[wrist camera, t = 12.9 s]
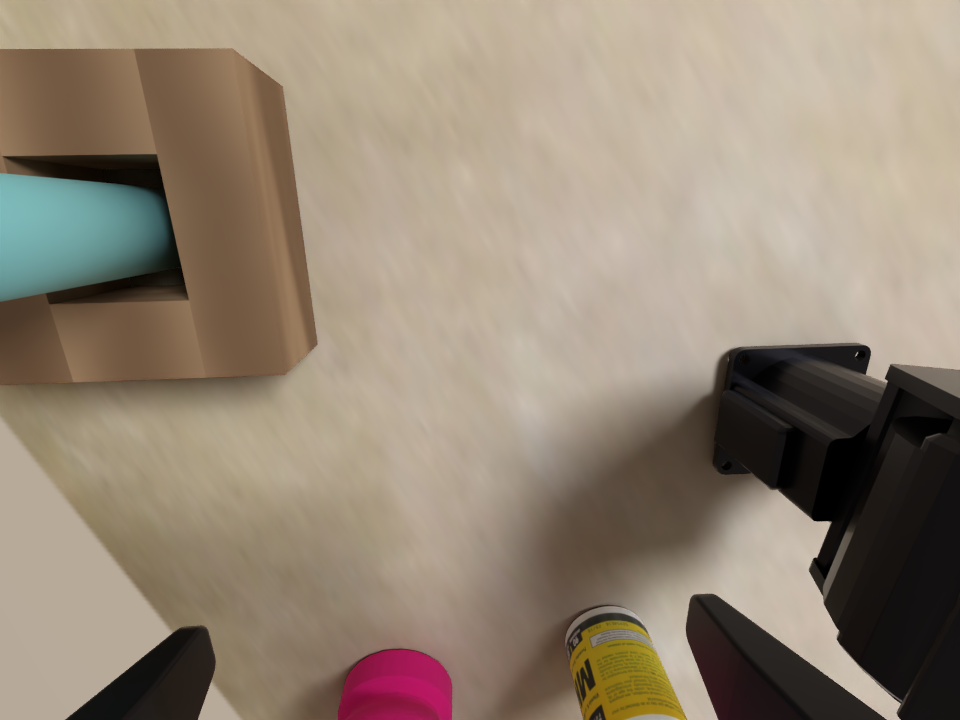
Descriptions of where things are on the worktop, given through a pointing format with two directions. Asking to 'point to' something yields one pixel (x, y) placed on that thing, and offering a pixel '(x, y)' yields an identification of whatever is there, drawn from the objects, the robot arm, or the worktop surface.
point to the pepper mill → (397, 688)
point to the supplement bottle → (618, 668)
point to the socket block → (192, 205)
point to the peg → (79, 233)
